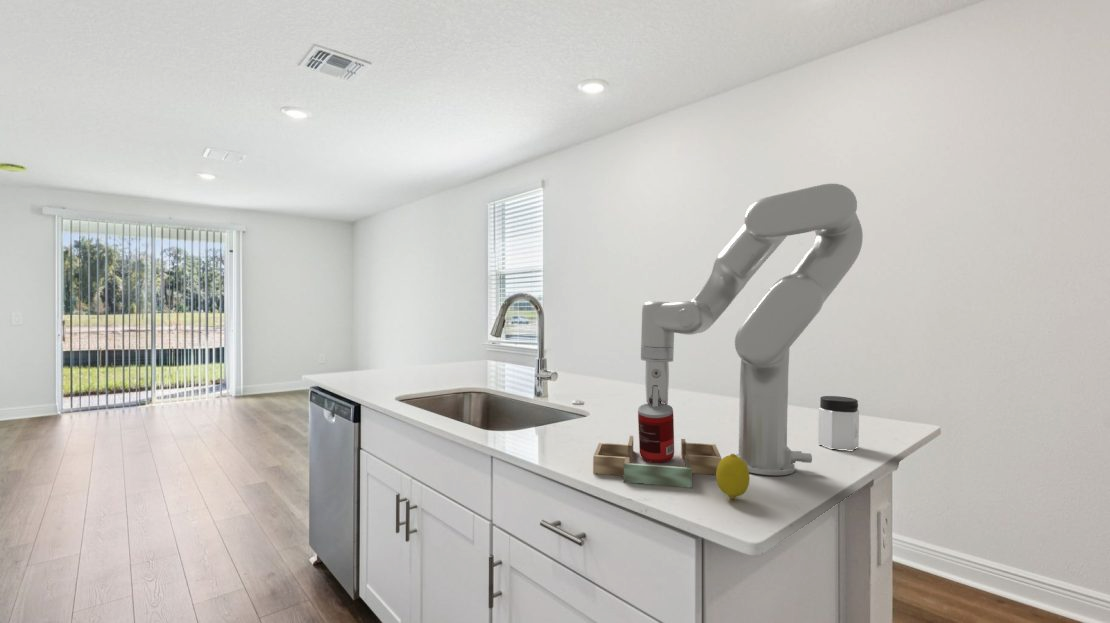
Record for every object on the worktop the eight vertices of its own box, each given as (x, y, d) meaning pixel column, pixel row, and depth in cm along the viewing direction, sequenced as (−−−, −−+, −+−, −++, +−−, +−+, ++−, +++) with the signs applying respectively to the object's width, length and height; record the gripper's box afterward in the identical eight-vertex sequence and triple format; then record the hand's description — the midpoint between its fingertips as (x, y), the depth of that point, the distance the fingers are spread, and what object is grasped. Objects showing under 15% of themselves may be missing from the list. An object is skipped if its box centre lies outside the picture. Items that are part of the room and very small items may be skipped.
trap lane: (713, 456, 116) (713, 440, 116) (727, 490, 94) (727, 471, 94) (602, 448, 121) (602, 433, 121) (590, 479, 99) (590, 461, 99)
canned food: (672, 447, 117) (670, 401, 116) (676, 463, 110) (675, 414, 108) (638, 448, 118) (636, 402, 116) (640, 463, 110) (639, 415, 109)
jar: (850, 453, 120) (851, 403, 120) (814, 446, 126) (814, 398, 126) (862, 447, 126) (862, 398, 126) (826, 440, 132) (827, 394, 132)
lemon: (733, 507, 86) (733, 459, 86) (709, 496, 91) (709, 451, 91) (756, 501, 89) (756, 456, 89) (731, 491, 94) (732, 448, 94)
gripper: (674, 357, 111) (671, 441, 111) (672, 352, 126) (670, 426, 126) (639, 356, 113) (636, 438, 113) (642, 350, 127) (639, 423, 128)
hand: (654, 431), depth 120 cm, fingers closed
